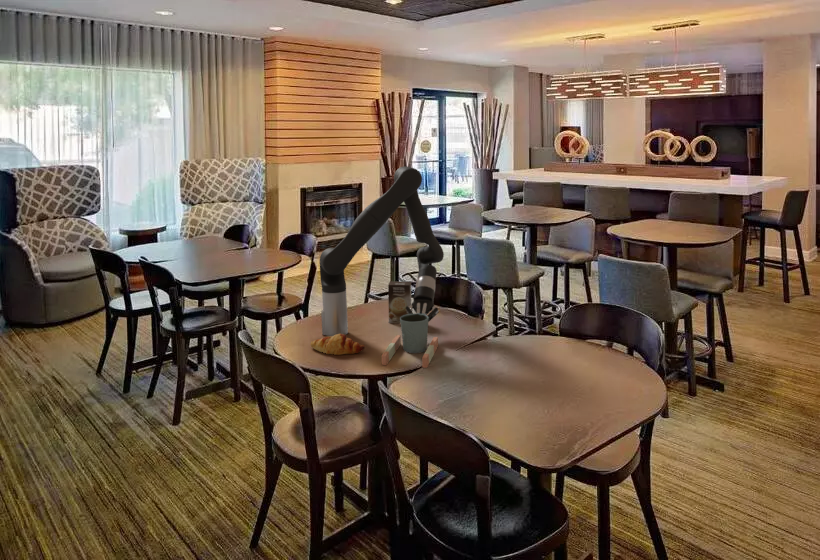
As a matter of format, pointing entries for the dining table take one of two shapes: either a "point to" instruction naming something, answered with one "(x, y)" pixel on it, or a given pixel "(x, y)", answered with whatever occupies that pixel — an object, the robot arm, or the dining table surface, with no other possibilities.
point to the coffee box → (398, 300)
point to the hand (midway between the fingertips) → (419, 330)
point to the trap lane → (397, 342)
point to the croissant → (337, 345)
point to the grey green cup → (414, 332)
